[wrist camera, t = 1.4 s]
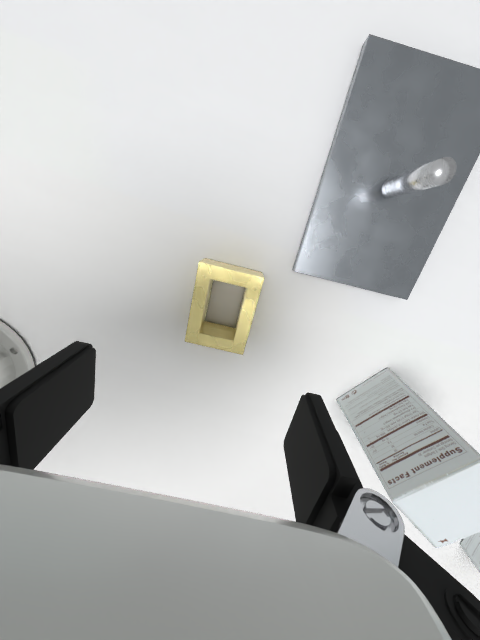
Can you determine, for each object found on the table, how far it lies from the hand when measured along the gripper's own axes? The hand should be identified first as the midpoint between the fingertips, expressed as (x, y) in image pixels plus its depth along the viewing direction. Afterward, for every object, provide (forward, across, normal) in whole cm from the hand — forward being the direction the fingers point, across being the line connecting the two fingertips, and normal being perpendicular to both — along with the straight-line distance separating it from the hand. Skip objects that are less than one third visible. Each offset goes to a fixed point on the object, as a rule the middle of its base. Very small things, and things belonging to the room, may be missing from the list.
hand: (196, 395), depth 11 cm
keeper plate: (+16, -12, -14) cm, 25 cm away
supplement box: (+17, -21, +8) cm, 28 cm away
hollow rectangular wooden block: (+16, 0, 0) cm, 16 cm away
